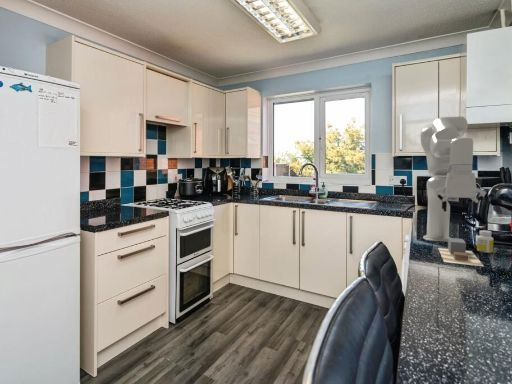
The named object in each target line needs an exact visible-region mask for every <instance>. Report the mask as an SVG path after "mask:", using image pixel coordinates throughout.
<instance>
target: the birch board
mask: <svg viewBox="0 0 512 384" xmlns="http://www.w3.org/2000/svg"><path fill="white" fill-rule="evenodd" d="M437 249H438V251H439V253H440V256H441V258H442V261H443V262H444V263H450V264H460V265H469V266H476V267H485V266H484V264H483V263H482V261H481V260H479V258H478V257H477V256H476V254H475V253H474V252H473V251H472V250H466V254H467V255H468V261H463V260H455V259H454V257H453V254H450V252H449V251H448V248H444V247H443V248H441V247H438V248H437Z"/></svg>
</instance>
